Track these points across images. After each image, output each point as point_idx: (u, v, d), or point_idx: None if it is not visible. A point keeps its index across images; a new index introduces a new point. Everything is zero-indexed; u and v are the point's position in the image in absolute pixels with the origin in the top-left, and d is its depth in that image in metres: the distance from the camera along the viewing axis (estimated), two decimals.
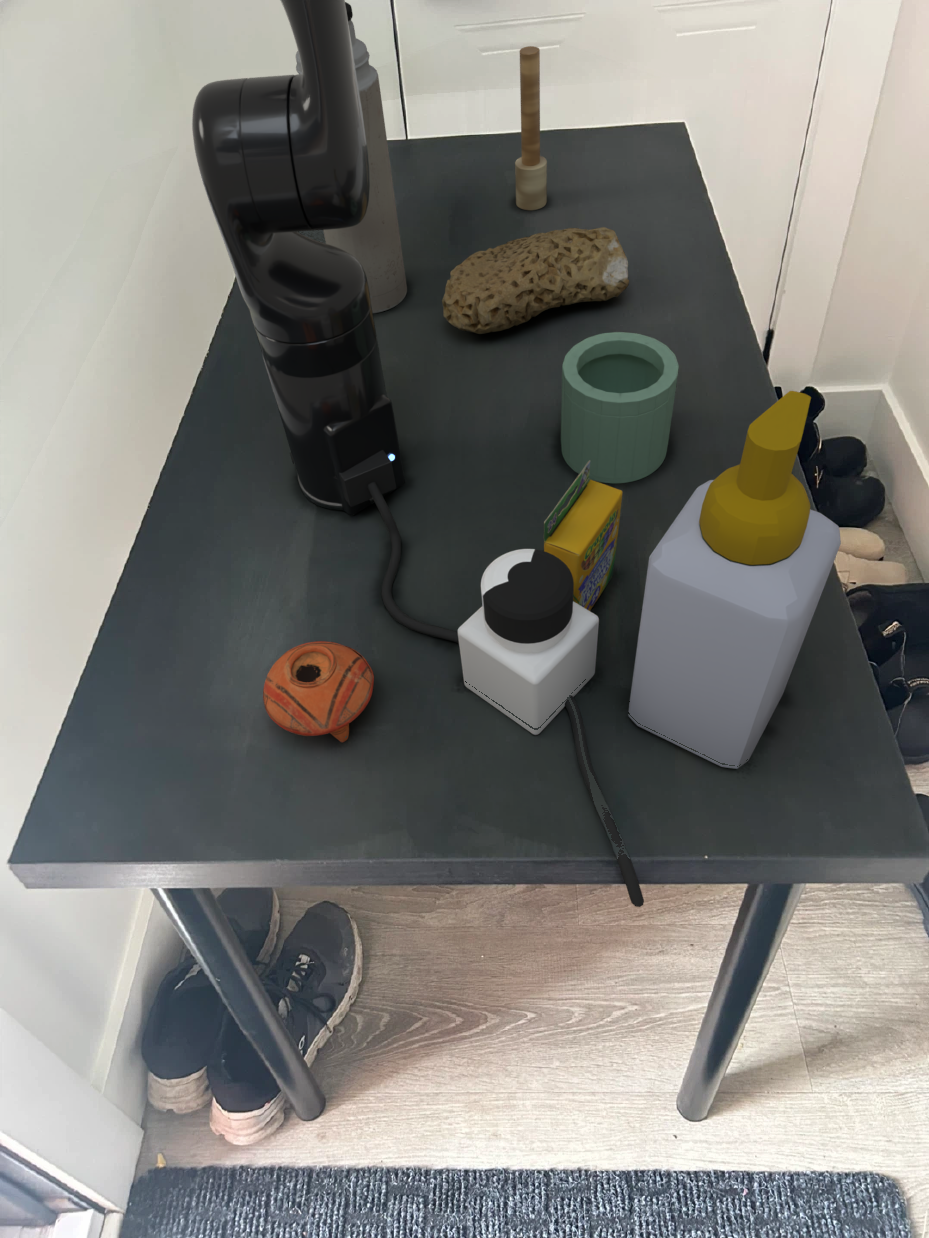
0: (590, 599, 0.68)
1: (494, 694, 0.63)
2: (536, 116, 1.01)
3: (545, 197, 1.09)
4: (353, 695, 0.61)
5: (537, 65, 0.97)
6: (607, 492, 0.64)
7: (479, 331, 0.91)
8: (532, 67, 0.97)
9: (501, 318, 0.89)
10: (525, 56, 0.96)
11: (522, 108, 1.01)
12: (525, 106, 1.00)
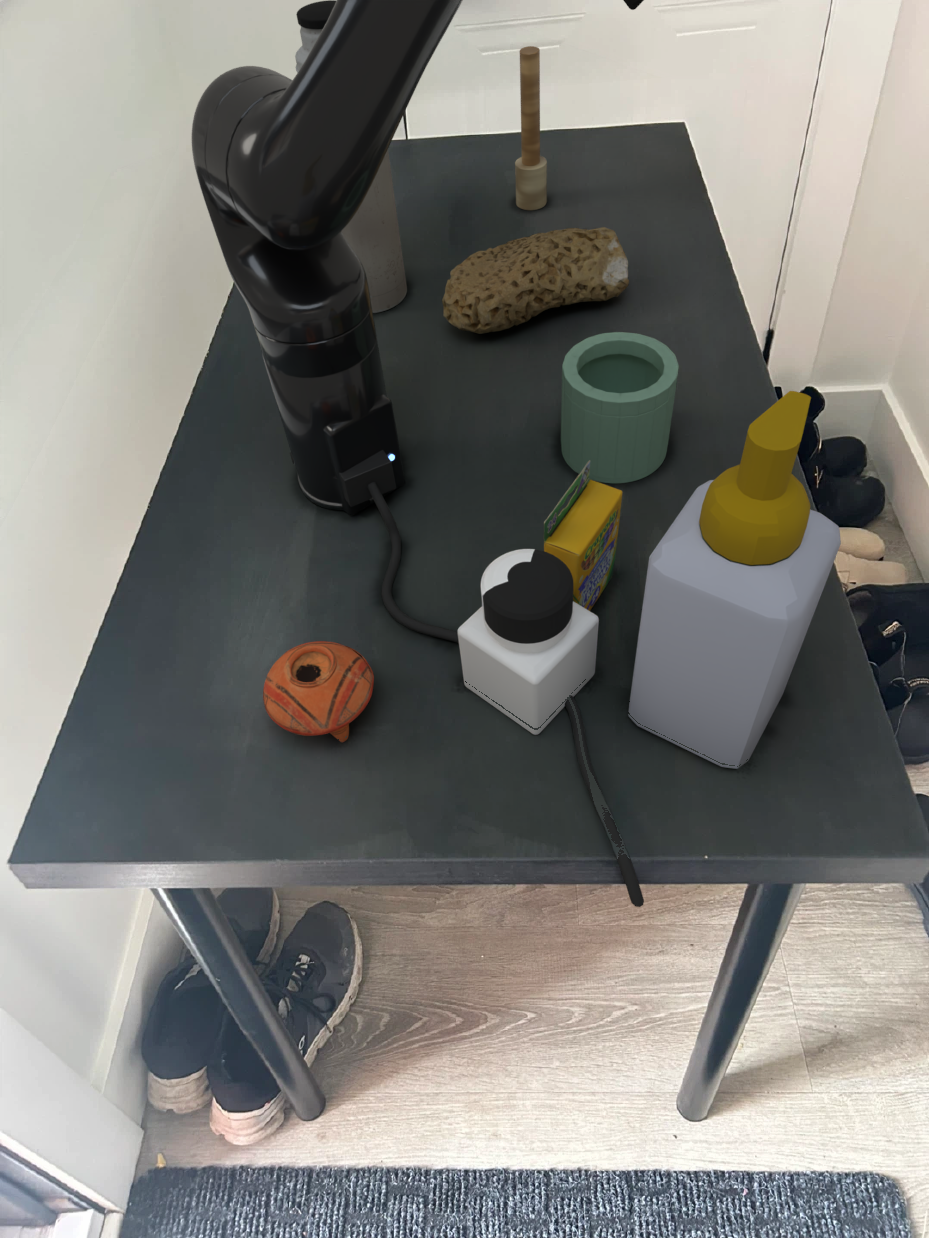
0: (590, 599, 0.68)
1: (494, 694, 0.63)
2: (536, 116, 1.01)
3: (545, 197, 1.09)
4: (353, 695, 0.61)
5: (537, 65, 0.97)
6: (607, 492, 0.64)
7: (479, 331, 0.91)
8: (532, 67, 0.97)
9: (501, 318, 0.89)
10: (525, 56, 0.96)
11: (522, 108, 1.01)
12: (525, 106, 1.00)
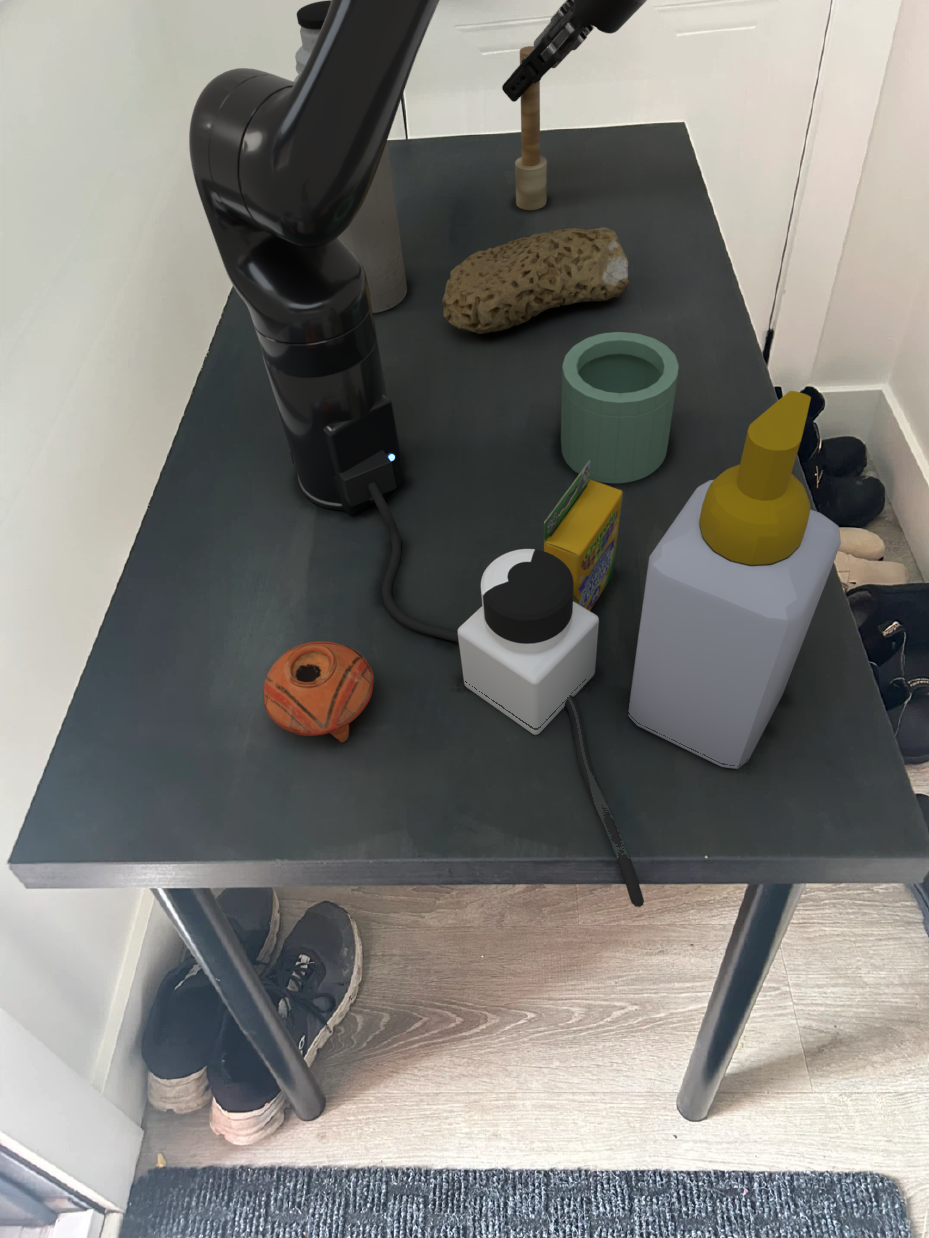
0: (590, 599, 0.68)
1: (494, 694, 0.63)
2: (536, 116, 1.01)
3: (545, 197, 1.09)
4: (353, 695, 0.61)
5: None
6: (607, 492, 0.64)
7: (479, 331, 0.91)
8: None
9: (501, 318, 0.89)
10: None
11: (522, 108, 1.01)
12: (525, 106, 1.00)
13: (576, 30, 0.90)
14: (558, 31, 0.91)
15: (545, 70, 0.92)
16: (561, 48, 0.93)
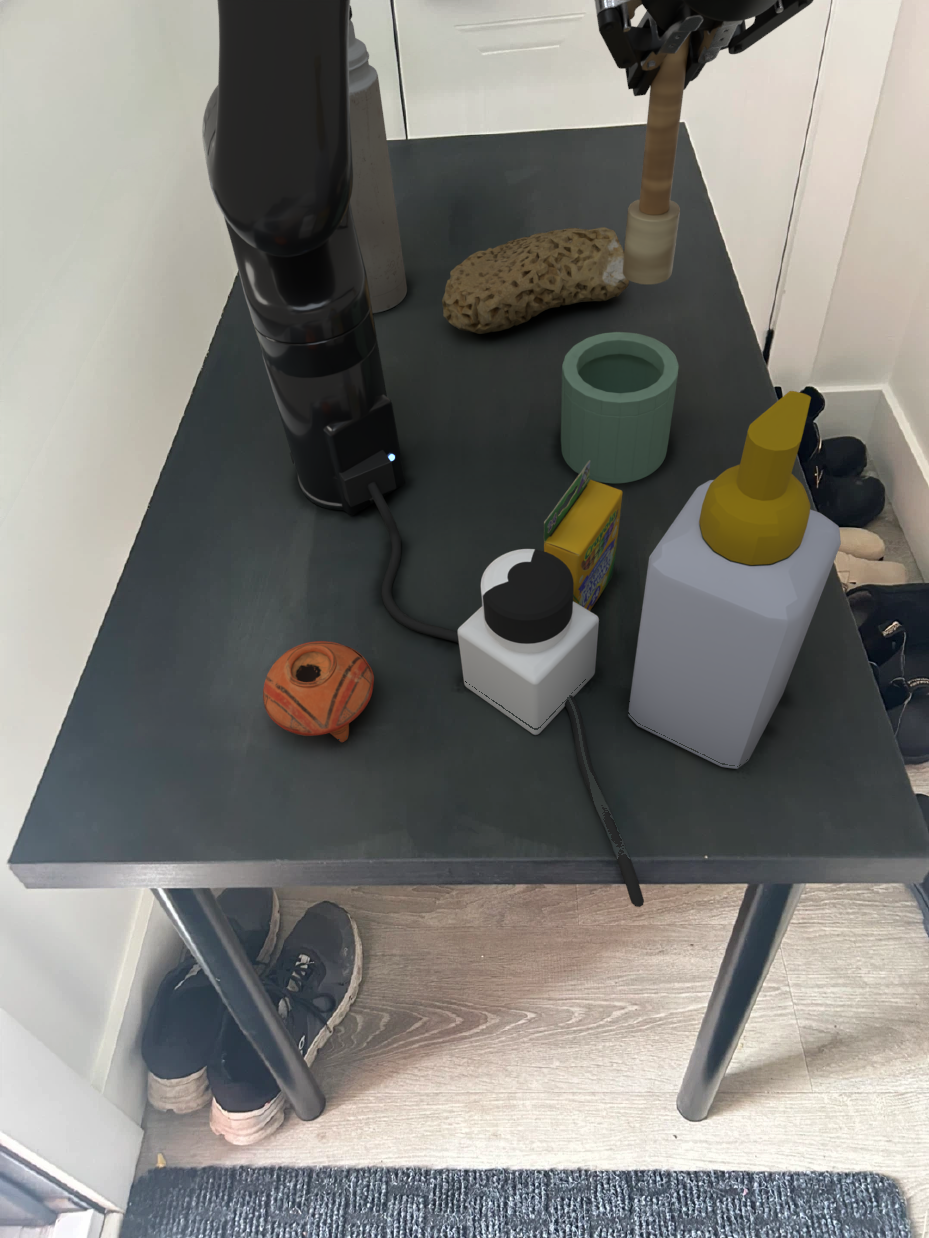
0: (590, 599, 0.68)
1: (494, 694, 0.63)
2: (658, 135, 0.60)
3: (655, 272, 0.67)
4: (353, 695, 0.61)
5: None
6: (607, 492, 0.64)
7: (479, 331, 0.91)
8: None
9: (501, 318, 0.89)
10: None
11: None
12: (648, 111, 0.60)
13: None
14: None
15: None
16: (654, 19, 0.52)
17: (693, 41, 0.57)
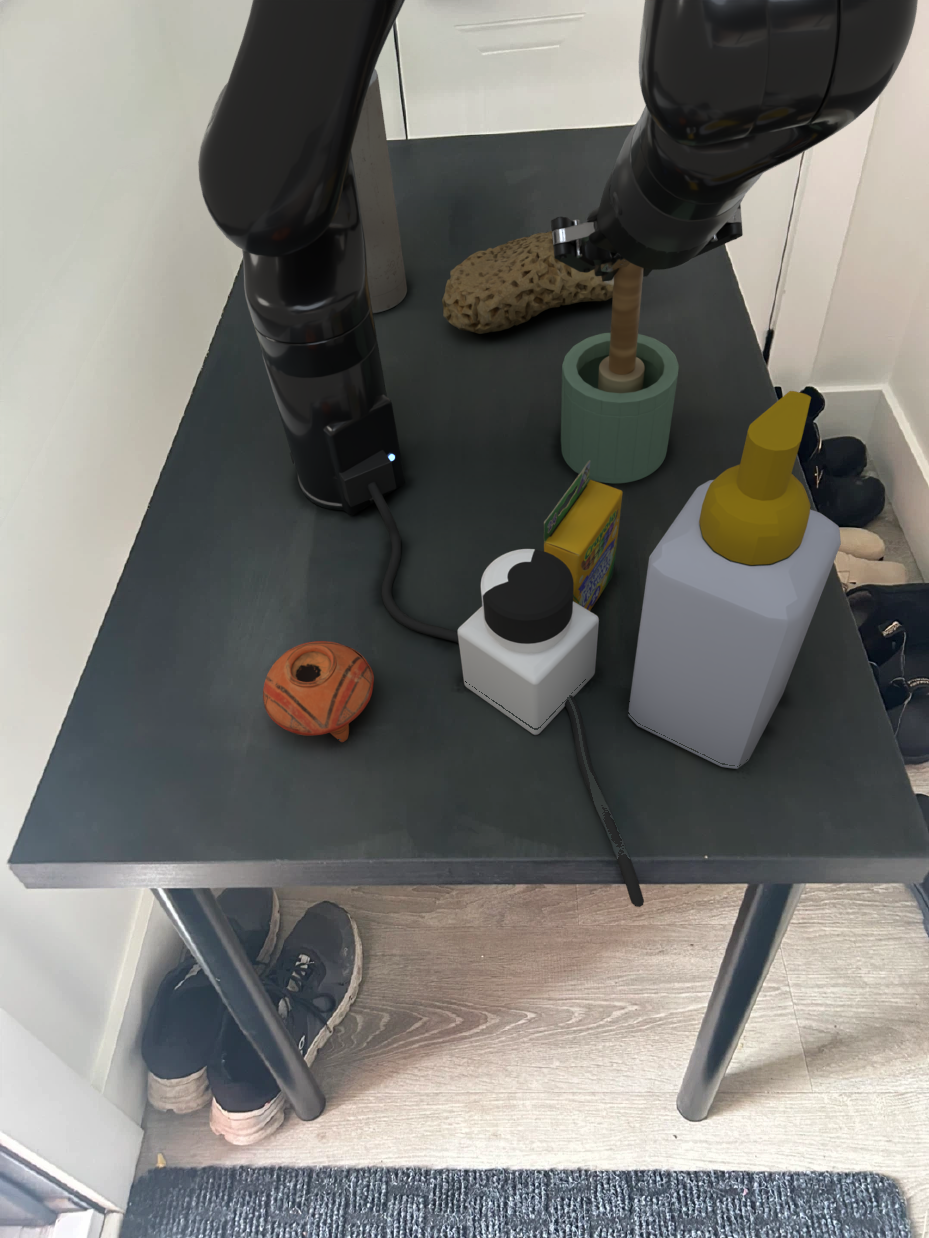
0: (590, 599, 0.68)
1: (494, 694, 0.63)
2: (620, 316, 0.70)
3: None
4: (353, 695, 0.61)
5: None
6: (607, 492, 0.64)
7: (479, 331, 0.91)
8: None
9: (501, 318, 0.89)
10: None
11: None
12: None
13: (595, 234, 0.58)
14: None
15: None
16: None
17: None
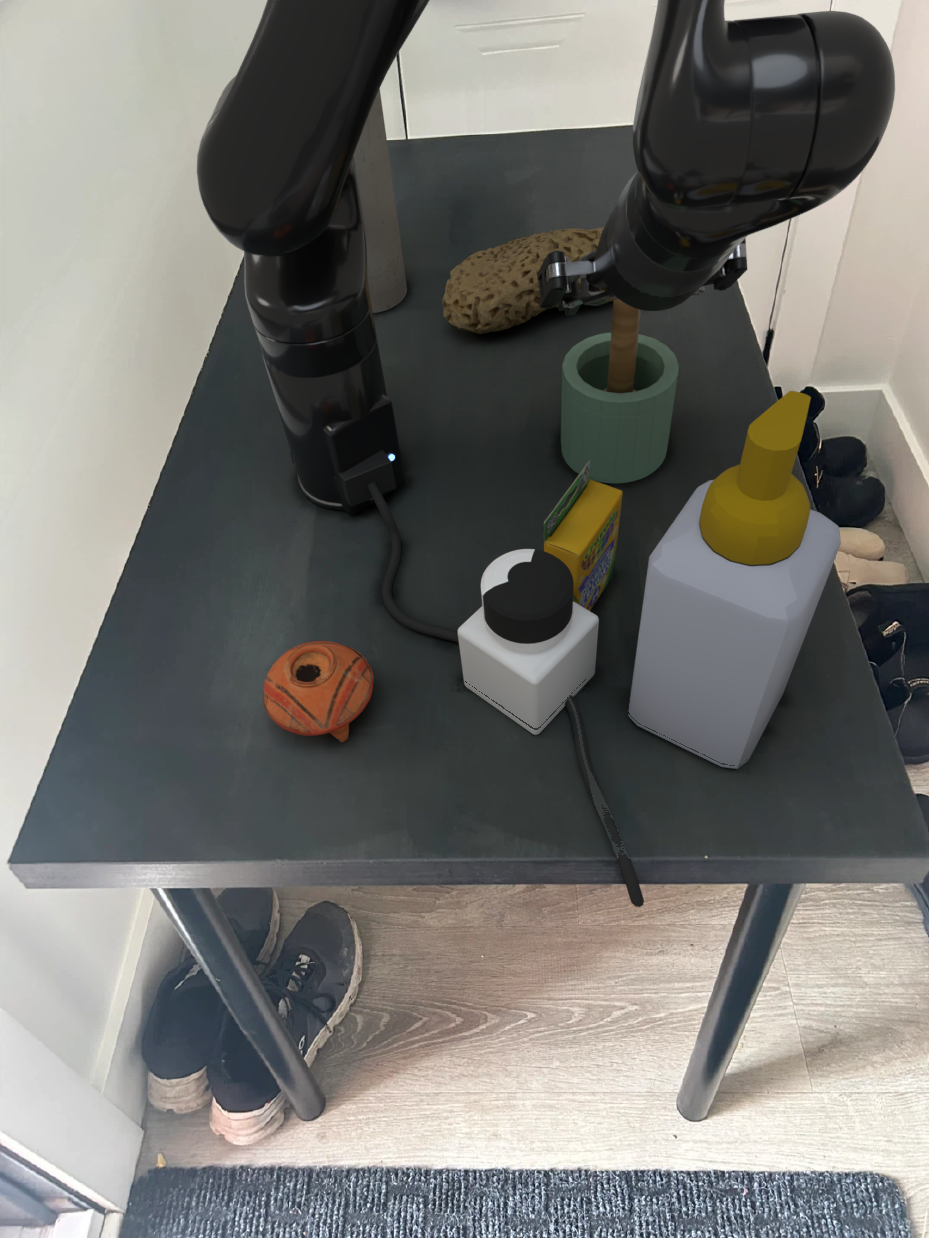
0: (590, 599, 0.68)
1: (494, 694, 0.63)
2: (618, 352, 0.72)
3: None
4: (353, 695, 0.61)
5: None
6: (607, 492, 0.64)
7: (479, 331, 0.91)
8: None
9: (501, 318, 0.89)
10: None
11: None
12: (611, 332, 0.72)
13: (592, 275, 0.61)
14: (585, 261, 0.61)
15: (545, 294, 0.63)
16: None
17: None
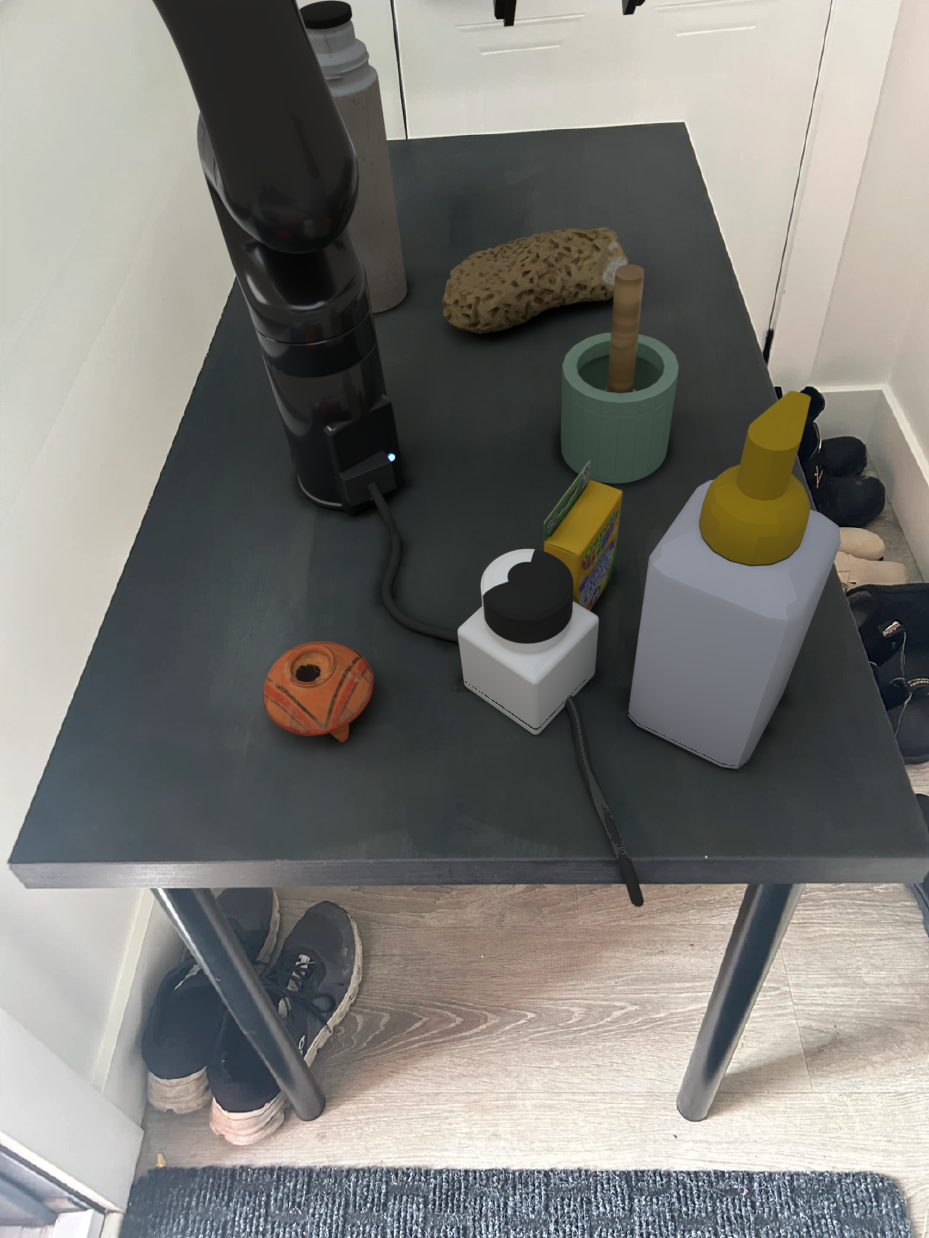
0: (590, 599, 0.68)
1: (494, 694, 0.63)
2: (618, 352, 0.72)
3: None
4: (353, 695, 0.61)
5: (625, 294, 0.68)
6: (607, 492, 0.64)
7: (479, 331, 0.91)
8: (618, 293, 0.68)
9: (501, 318, 0.89)
10: (615, 275, 0.68)
11: None
12: (611, 332, 0.72)
13: None
14: None
15: None
16: None
17: None
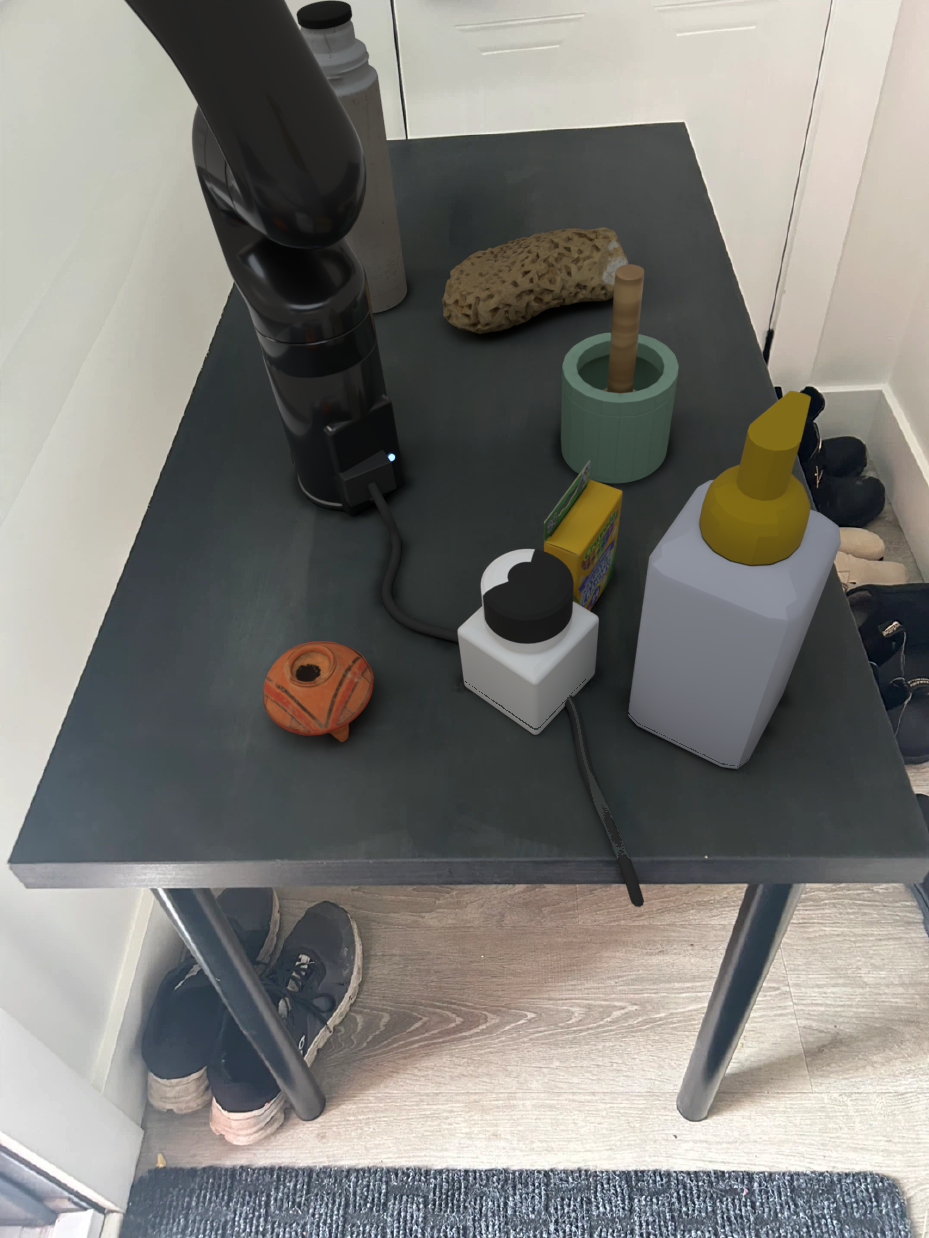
0: (590, 599, 0.68)
1: (494, 694, 0.63)
2: (618, 352, 0.72)
3: None
4: (353, 695, 0.61)
5: (625, 294, 0.68)
6: (607, 492, 0.64)
7: (479, 331, 0.91)
8: (618, 293, 0.68)
9: (501, 318, 0.89)
10: (615, 275, 0.68)
11: None
12: (611, 332, 0.72)
13: None
14: None
15: None
16: None
17: None
